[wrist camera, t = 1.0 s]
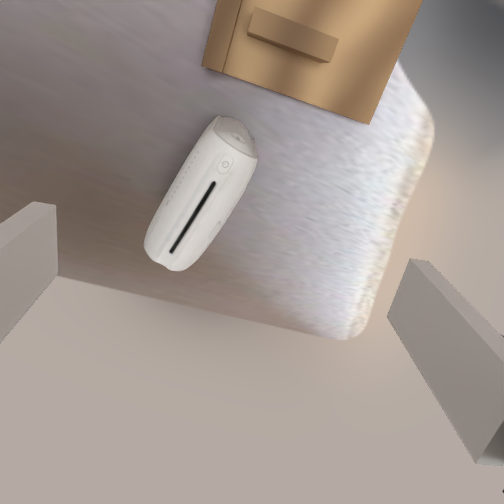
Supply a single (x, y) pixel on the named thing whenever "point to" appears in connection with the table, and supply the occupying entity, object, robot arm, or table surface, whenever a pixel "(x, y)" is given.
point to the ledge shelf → (313, 48)
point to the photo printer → (202, 194)
